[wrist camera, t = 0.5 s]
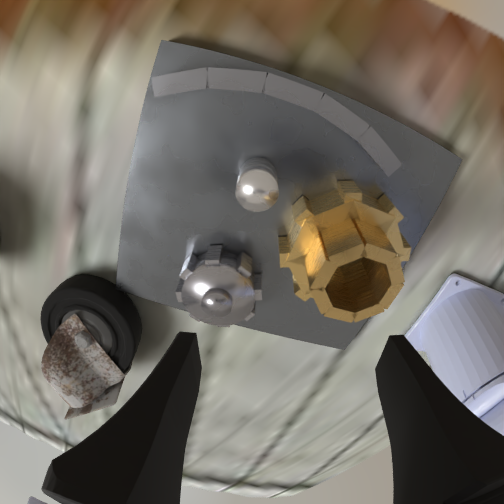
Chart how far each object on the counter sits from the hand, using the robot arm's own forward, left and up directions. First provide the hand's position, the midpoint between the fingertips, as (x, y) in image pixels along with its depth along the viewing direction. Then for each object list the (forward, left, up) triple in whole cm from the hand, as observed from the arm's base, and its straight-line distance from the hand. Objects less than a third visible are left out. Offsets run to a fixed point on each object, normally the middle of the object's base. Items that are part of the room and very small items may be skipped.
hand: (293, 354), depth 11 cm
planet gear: (-3, -1, -9) cm, 9 cm away
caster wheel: (+12, +14, -10) cm, 21 cm away
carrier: (+1, -1, -10) cm, 10 cm away
